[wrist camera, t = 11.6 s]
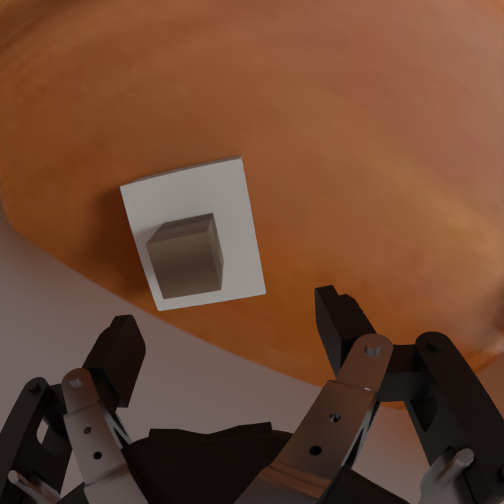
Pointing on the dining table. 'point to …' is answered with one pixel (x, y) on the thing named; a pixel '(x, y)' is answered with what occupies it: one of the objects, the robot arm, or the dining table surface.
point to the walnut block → (187, 256)
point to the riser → (194, 204)
